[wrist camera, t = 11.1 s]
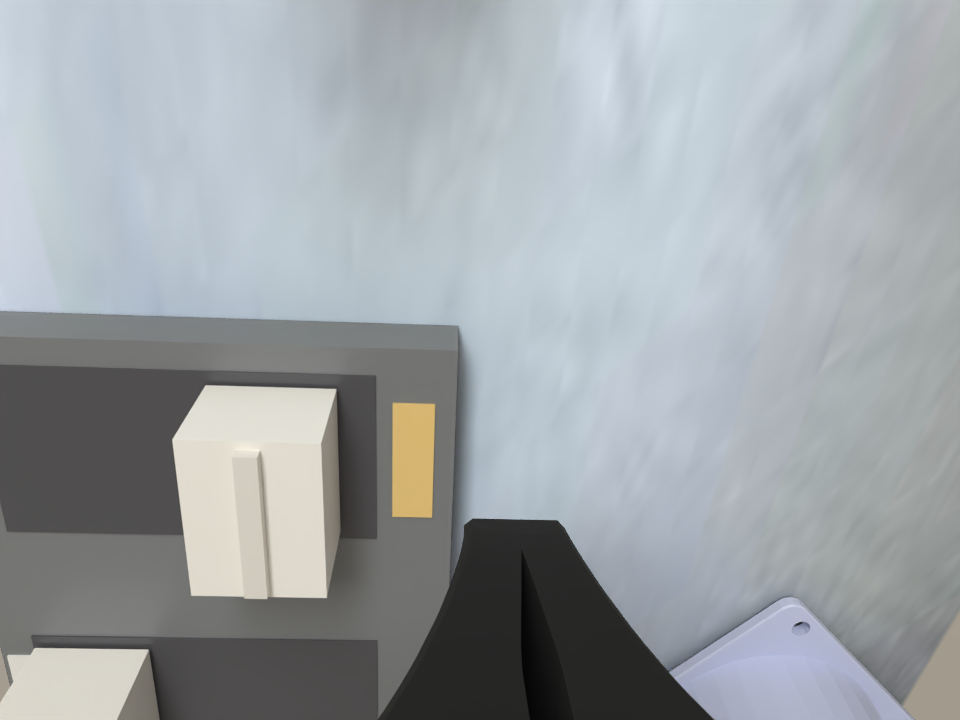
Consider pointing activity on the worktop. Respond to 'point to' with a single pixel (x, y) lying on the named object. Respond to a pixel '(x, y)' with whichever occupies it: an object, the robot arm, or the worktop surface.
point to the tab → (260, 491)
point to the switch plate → (157, 514)
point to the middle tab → (83, 686)
